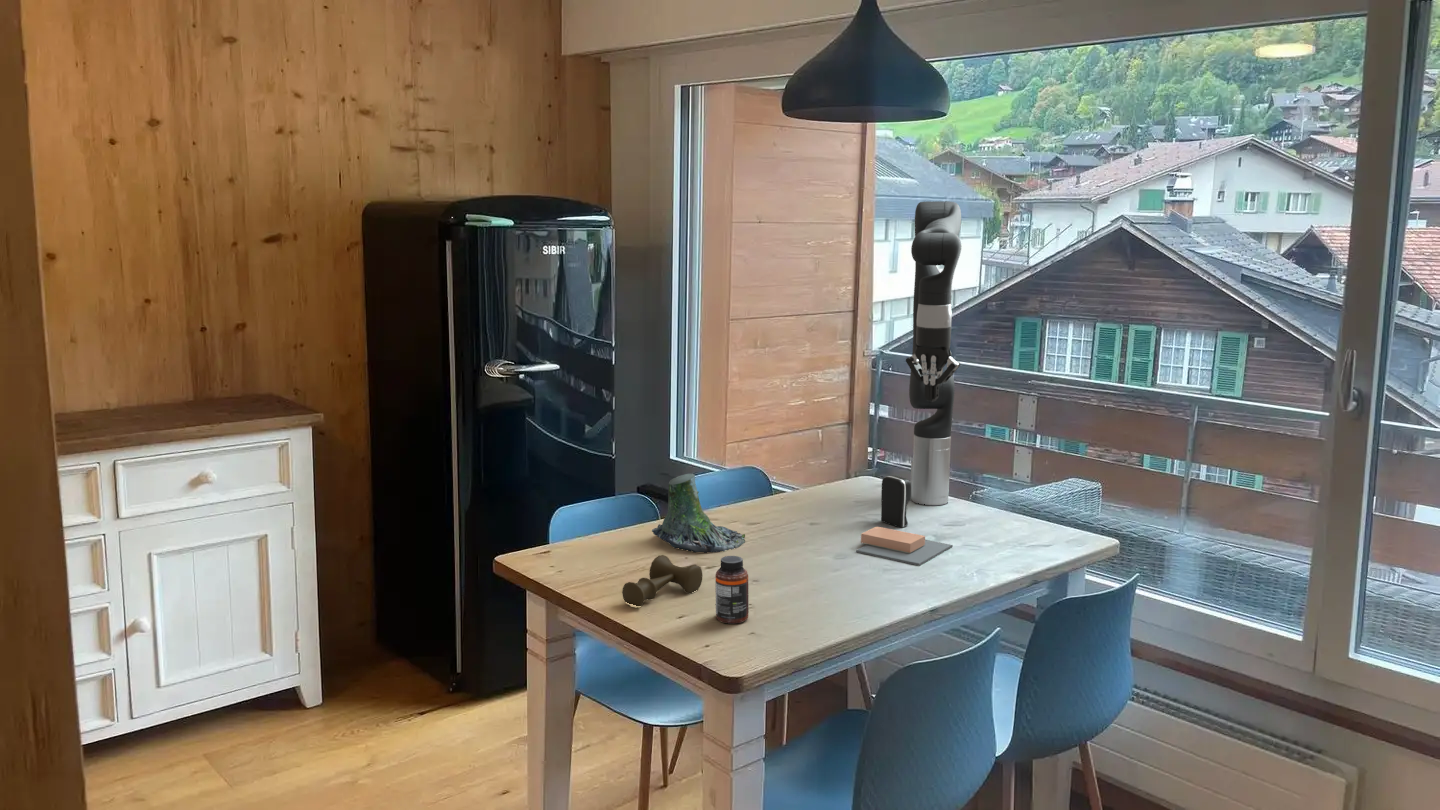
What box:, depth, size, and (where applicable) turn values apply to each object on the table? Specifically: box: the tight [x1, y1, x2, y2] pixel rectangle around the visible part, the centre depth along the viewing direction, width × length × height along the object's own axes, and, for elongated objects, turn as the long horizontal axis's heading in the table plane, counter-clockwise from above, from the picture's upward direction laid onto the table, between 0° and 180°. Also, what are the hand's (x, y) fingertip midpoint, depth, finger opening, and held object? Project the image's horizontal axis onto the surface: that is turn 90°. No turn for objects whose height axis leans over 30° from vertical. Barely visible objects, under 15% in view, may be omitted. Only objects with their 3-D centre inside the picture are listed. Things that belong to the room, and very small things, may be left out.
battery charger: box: [880, 475, 912, 528], centre depth 249 cm, size 7×4×11 cm, turn 38°
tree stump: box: [651, 473, 746, 554], centre depth 234 cm, size 18×20×18 cm
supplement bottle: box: [714, 555, 750, 625], centre depth 189 cm, size 6×6×11 cm
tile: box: [860, 526, 926, 553], centre depth 232 cm, size 2×7×12 cm
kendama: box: [621, 554, 703, 607], centre depth 203 cm, size 6×10×20 cm
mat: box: [856, 539, 953, 567], centre depth 230 cm, size 15×16×1 cm
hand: (931, 400), depth 237 cm, fingers closed
